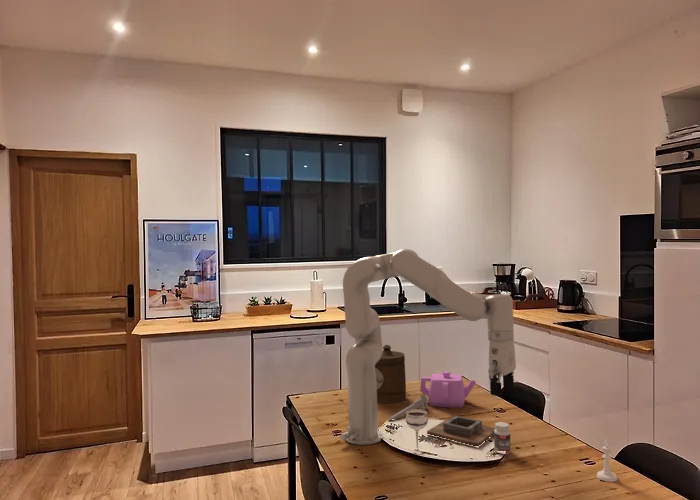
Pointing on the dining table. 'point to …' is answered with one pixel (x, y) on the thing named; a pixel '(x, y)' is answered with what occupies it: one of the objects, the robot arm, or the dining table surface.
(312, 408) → the dining table surface
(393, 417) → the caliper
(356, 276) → the robot arm
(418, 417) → the wineglass
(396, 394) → the wooden container
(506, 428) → the pill bottle
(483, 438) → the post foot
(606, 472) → the chess piece
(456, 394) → the teakettle
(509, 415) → the dining table surface
